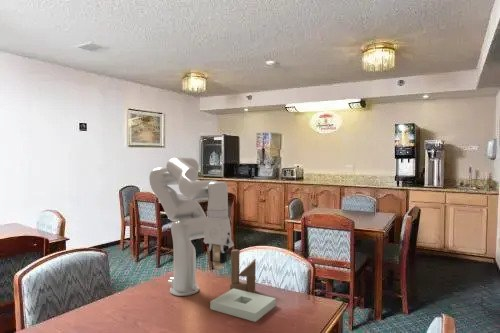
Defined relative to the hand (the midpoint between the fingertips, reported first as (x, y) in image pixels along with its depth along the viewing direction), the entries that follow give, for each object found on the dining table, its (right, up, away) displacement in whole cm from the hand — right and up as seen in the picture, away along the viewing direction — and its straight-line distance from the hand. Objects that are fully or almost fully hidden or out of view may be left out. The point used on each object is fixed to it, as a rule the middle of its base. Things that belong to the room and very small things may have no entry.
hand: (218, 261), depth 133 cm
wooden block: (+9, -19, +19) cm, 28 cm away
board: (+10, -19, +2) cm, 21 cm away
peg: (0, -3, 0) cm, 3 cm away
